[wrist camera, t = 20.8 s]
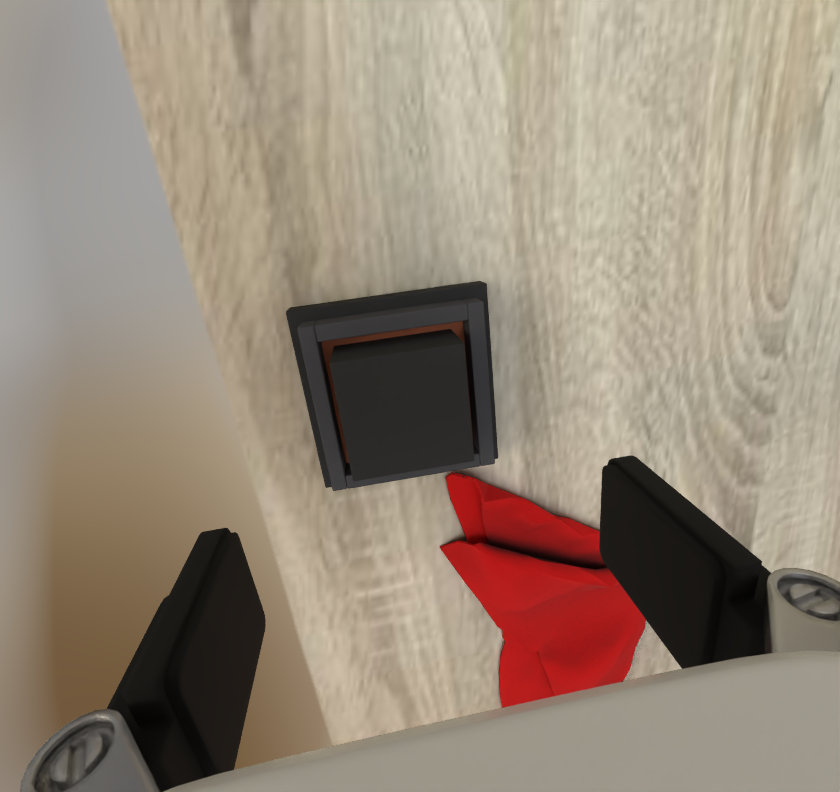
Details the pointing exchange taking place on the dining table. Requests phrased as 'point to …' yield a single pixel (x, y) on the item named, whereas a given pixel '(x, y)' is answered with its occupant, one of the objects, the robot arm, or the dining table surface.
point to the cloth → (542, 594)
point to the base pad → (385, 319)
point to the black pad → (403, 403)
